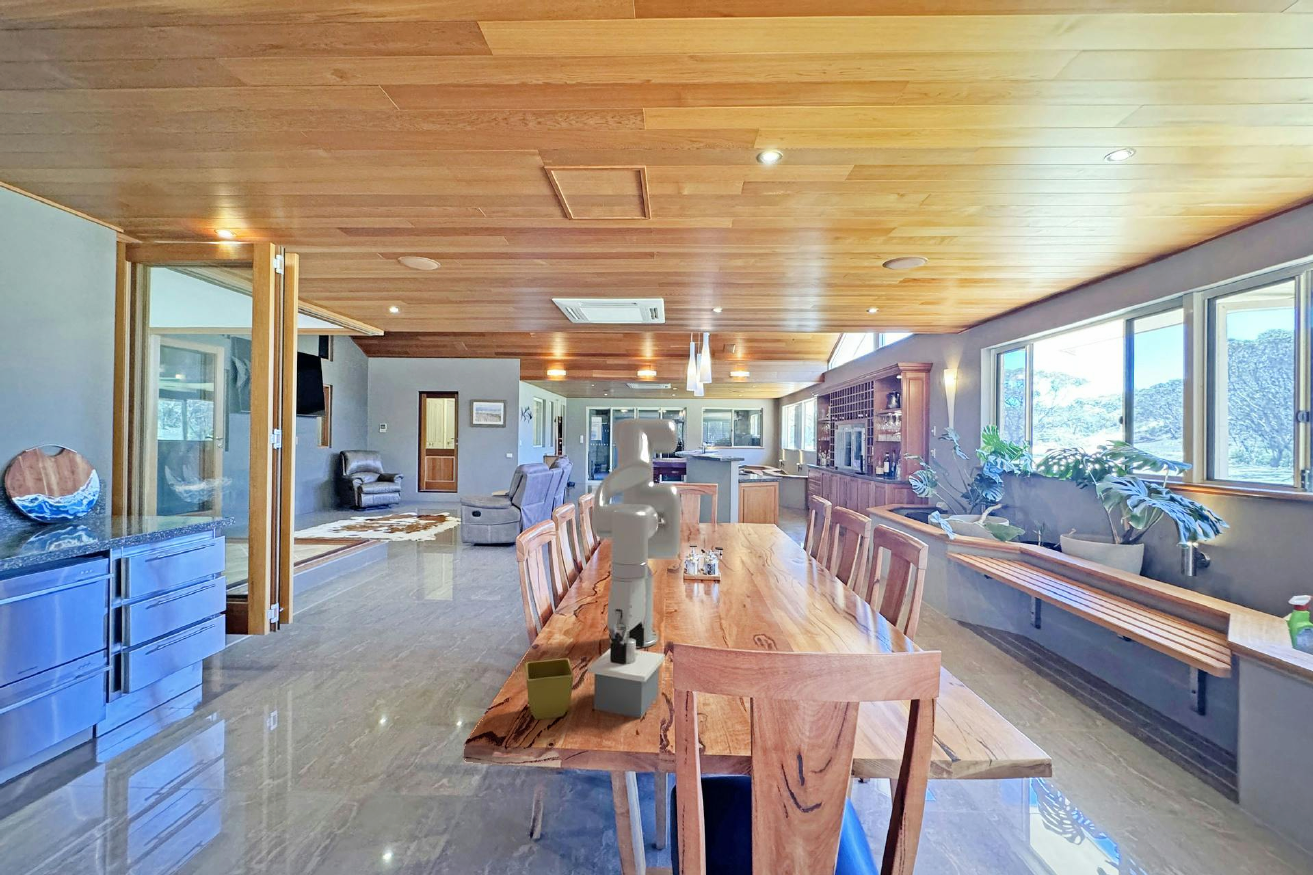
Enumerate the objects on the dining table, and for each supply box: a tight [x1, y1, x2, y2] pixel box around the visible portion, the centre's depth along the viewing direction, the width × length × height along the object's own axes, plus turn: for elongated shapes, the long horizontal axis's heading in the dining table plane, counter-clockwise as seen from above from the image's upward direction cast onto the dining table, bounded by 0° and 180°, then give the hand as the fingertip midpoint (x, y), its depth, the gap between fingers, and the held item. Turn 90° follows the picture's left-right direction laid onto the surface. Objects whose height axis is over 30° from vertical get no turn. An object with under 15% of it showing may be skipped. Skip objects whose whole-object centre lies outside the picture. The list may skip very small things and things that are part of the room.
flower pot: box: [524, 657, 574, 720], centre depth 108 cm, size 9×9×9 cm
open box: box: [593, 665, 660, 719], centre depth 112 cm, size 10×10×8 cm
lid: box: [587, 638, 666, 682], centre depth 112 cm, size 12×12×6 cm
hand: (627, 654), depth 112 cm, fingers open, 9 cm apart
